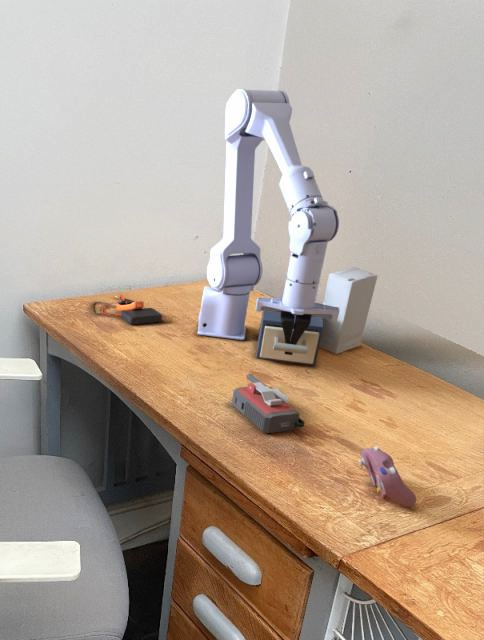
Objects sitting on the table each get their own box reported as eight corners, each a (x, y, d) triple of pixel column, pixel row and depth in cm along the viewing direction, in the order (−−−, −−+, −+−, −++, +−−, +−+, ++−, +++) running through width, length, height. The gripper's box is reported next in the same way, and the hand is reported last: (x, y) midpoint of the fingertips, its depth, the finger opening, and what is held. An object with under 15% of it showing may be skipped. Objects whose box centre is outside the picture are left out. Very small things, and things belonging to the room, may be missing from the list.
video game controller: (361, 481, 114) (351, 443, 111) (391, 470, 114) (382, 431, 110) (387, 519, 106) (376, 479, 102) (419, 506, 105) (410, 466, 102)
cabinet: (314, 365, 148) (323, 327, 143) (256, 358, 149) (262, 319, 145) (313, 343, 158) (321, 306, 154) (258, 336, 159) (264, 299, 155)
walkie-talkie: (314, 432, 124) (252, 381, 139) (320, 406, 121) (256, 358, 137) (266, 438, 121) (208, 386, 136) (271, 412, 118) (211, 362, 134)
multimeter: (80, 299, 172) (80, 283, 170) (130, 296, 176) (131, 281, 174) (109, 327, 158) (110, 310, 156) (162, 323, 162) (164, 307, 160)
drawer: (313, 374, 142) (320, 343, 139) (259, 366, 143) (264, 336, 140) (311, 343, 155) (317, 314, 152) (261, 336, 157) (266, 308, 153)
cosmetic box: (337, 338, 161) (353, 265, 153) (361, 347, 158) (379, 273, 150) (311, 345, 157) (327, 271, 149) (336, 355, 153) (353, 279, 145)
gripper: (260, 280, 134) (248, 355, 141) (346, 290, 132) (329, 366, 139) (261, 269, 140) (249, 342, 147) (344, 279, 138) (327, 352, 145)
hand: (288, 352), depth 144 cm, fingers closed, pressing on drawer
